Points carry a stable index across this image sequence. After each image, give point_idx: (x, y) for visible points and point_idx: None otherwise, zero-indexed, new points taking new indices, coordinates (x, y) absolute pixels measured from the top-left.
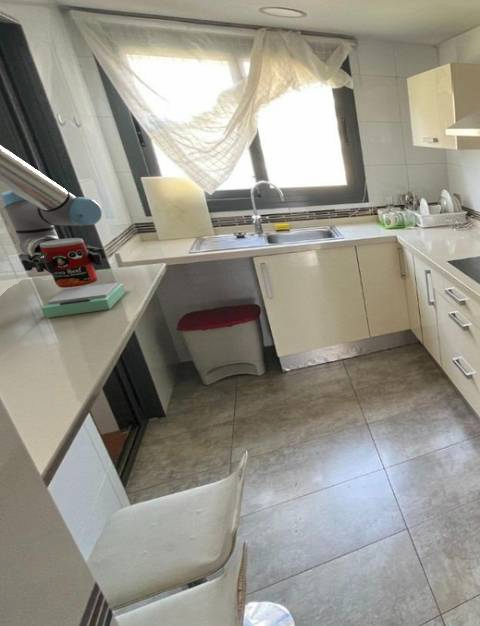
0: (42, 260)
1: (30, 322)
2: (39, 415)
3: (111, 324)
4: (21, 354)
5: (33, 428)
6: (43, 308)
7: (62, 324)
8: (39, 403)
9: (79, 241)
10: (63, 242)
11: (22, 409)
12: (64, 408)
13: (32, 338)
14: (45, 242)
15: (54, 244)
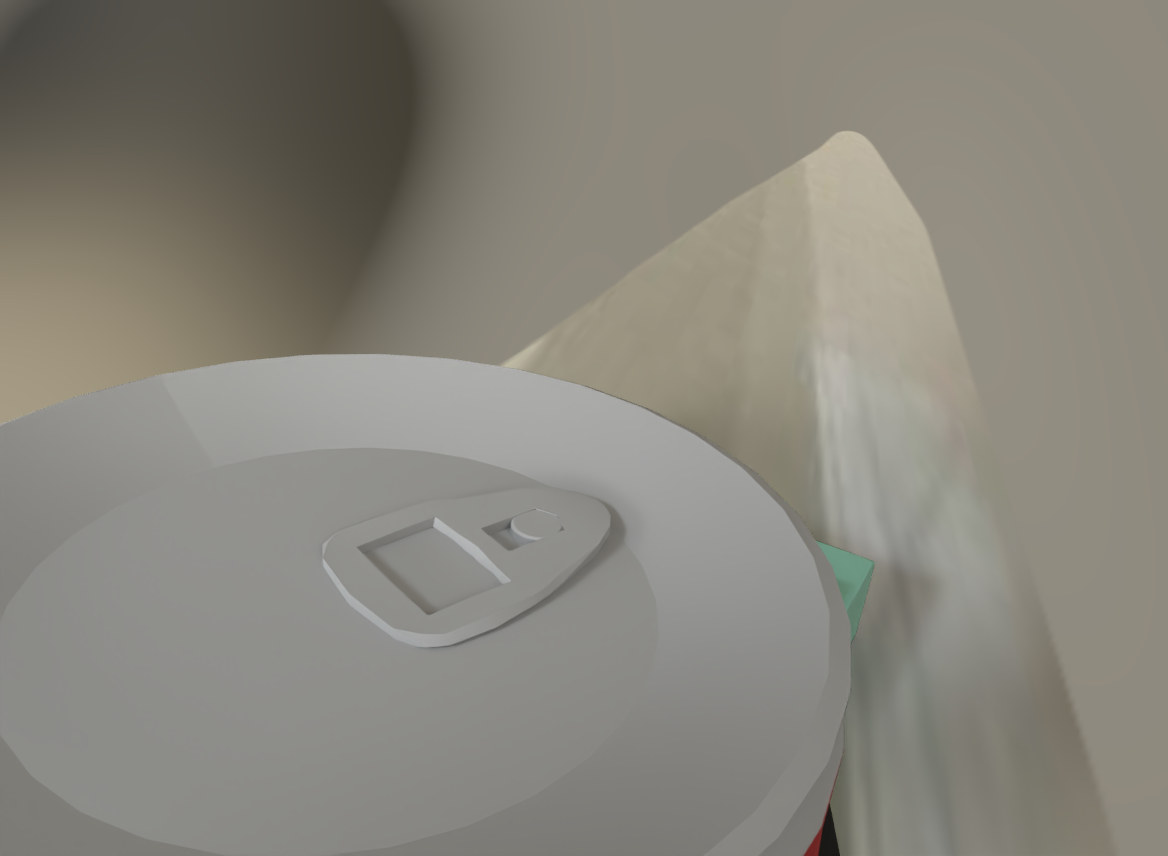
0: (831, 814)
1: (941, 630)
2: (865, 167)
3: (610, 351)
4: (928, 344)
5: (873, 155)
6: (862, 561)
7: (780, 479)
8: (866, 184)
9: (128, 395)
10: (332, 550)
11: (894, 186)
12: (827, 161)
13: (906, 427)
14: (673, 835)
15: (598, 395)
